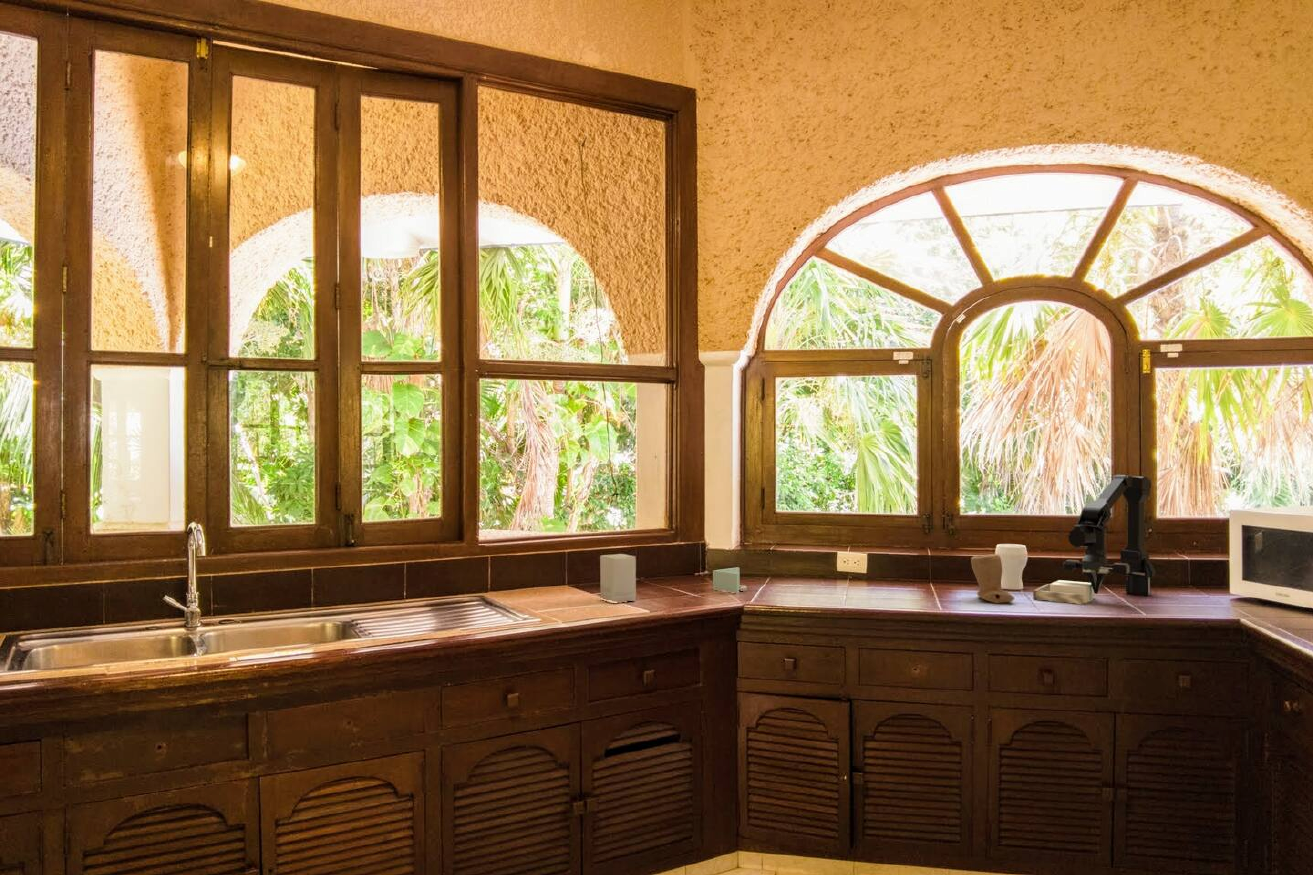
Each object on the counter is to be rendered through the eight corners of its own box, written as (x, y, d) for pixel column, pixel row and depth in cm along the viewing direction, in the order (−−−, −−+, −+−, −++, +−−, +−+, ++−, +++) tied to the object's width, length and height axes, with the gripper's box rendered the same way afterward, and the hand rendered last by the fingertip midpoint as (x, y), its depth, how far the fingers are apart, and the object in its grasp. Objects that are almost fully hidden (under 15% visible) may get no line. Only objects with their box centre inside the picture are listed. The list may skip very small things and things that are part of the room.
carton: (1095, 598, 293) (1094, 582, 293) (1086, 603, 284) (1086, 587, 284) (1058, 595, 300) (1058, 579, 300) (1049, 599, 291) (1049, 584, 291)
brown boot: (969, 595, 300) (968, 551, 300) (1006, 596, 298) (1006, 551, 298) (975, 603, 285) (975, 556, 285) (1014, 604, 283) (1014, 557, 283)
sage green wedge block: (737, 596, 305) (736, 574, 305) (713, 591, 314) (712, 570, 314) (761, 592, 312) (761, 570, 312) (737, 588, 322) (737, 567, 322)
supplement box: (636, 601, 292) (636, 556, 292) (612, 604, 287) (612, 558, 287) (623, 597, 300) (623, 553, 300) (599, 600, 295) (599, 555, 295)
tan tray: (1094, 597, 295) (1094, 588, 295) (1082, 604, 282) (1082, 594, 282) (1047, 592, 305) (1047, 583, 305) (1033, 599, 292) (1033, 590, 292)
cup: (990, 585, 319) (989, 543, 319) (1018, 585, 320) (1018, 543, 320) (1004, 590, 309) (1003, 547, 309) (1033, 590, 310) (1033, 546, 310)
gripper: (1058, 545, 287) (1058, 594, 287) (1122, 549, 275) (1123, 600, 275) (1067, 542, 296) (1067, 589, 296) (1129, 546, 284) (1130, 595, 284)
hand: (1096, 593), depth 287 cm, fingers closed
